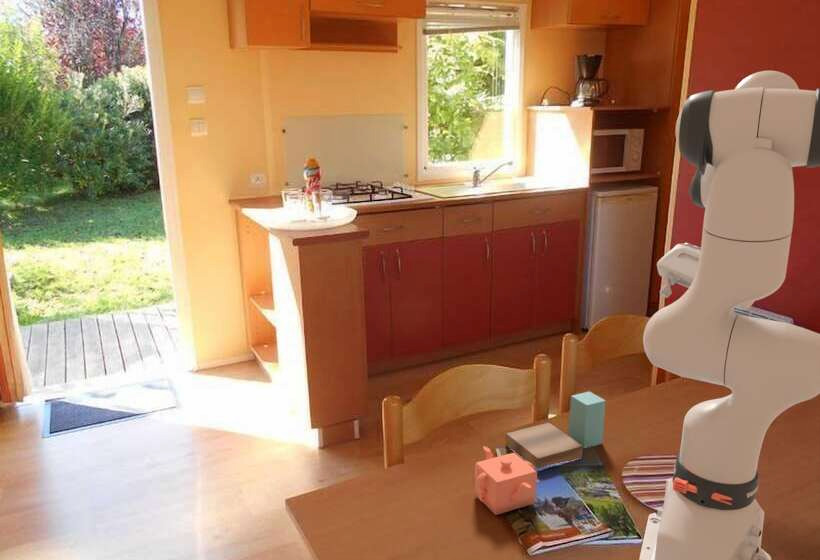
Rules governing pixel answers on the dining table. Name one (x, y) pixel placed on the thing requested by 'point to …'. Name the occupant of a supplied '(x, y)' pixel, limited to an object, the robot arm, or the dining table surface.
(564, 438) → the walnut plinth
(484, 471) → the teapot
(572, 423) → the teal pillar
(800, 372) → the robot arm
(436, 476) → the dining table surface
